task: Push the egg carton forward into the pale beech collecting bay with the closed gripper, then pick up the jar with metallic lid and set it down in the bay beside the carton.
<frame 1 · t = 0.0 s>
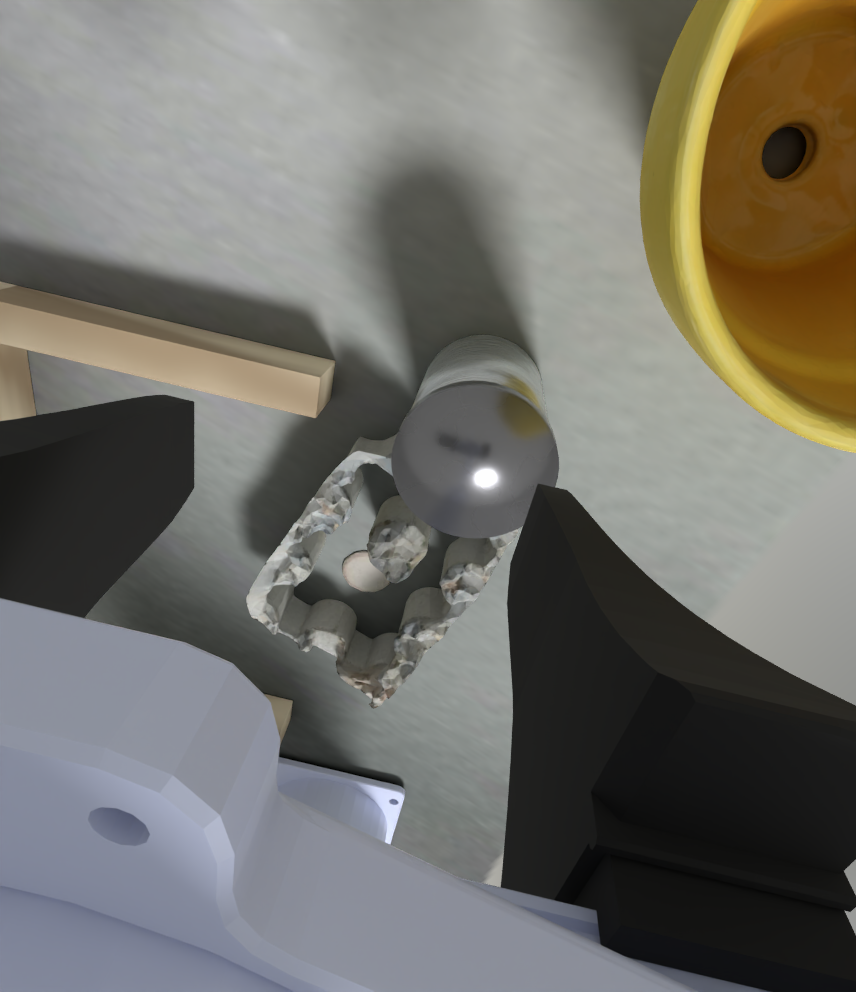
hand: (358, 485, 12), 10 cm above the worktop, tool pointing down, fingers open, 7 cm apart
plant pot: (773, 157, 17), on the worktop
egg carton: (383, 538, 25), on the worktop
jar with metallic lid: (481, 395, 21), on the worktop
beech bay: (179, 543, 26), on the worktop
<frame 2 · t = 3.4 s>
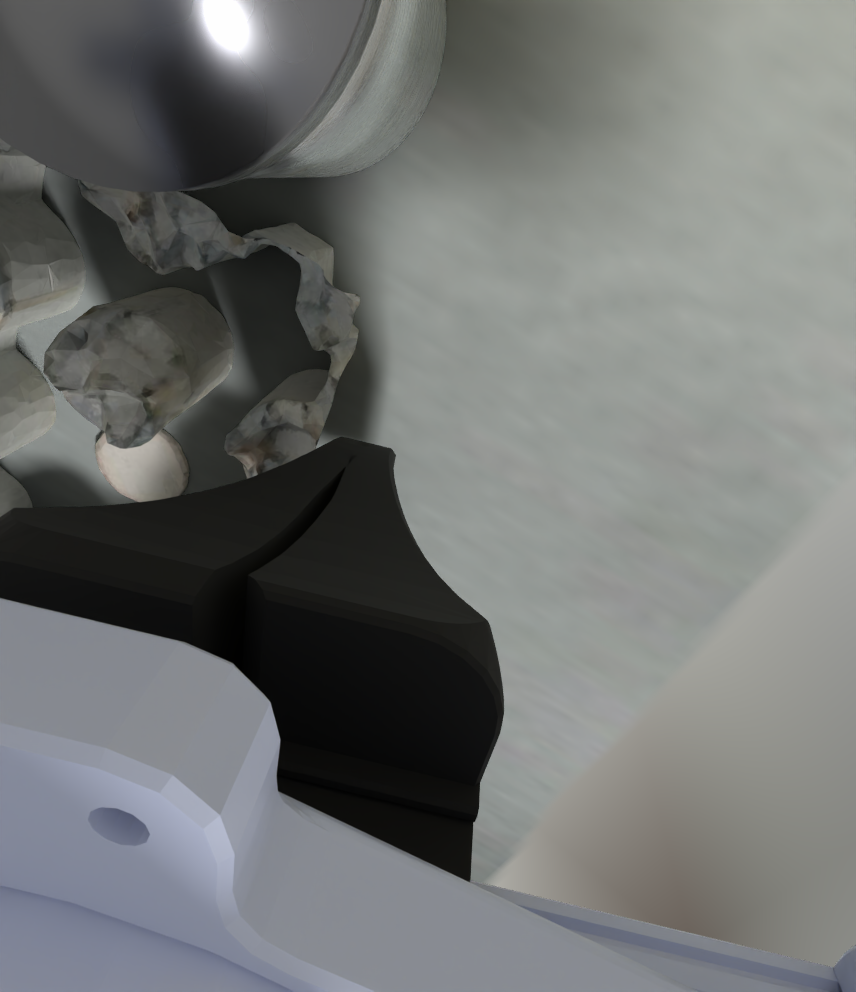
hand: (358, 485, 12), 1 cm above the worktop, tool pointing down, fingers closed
egg carton: (163, 396, 14), on the worktop, touching gripper
jar with metallic lid: (313, 25, 10), on the worktop
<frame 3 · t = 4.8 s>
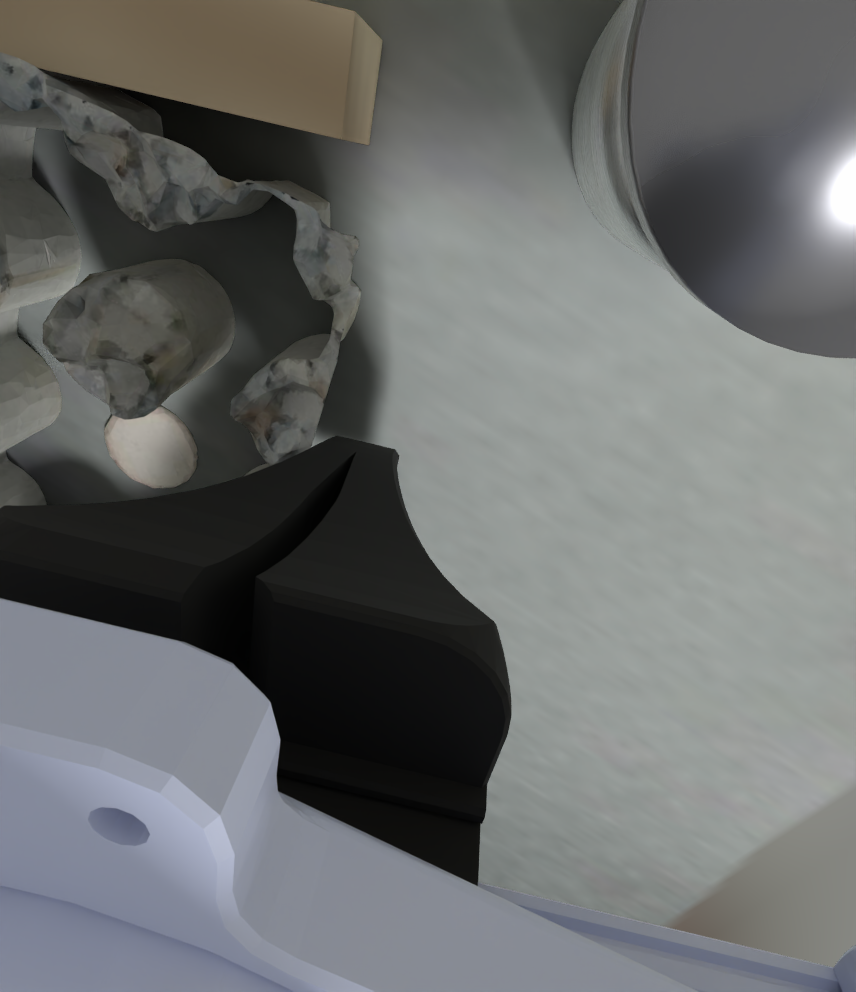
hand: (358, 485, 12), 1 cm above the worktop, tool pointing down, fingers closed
egg carton: (168, 376, 13), on the worktop
jar with metallic lid: (708, 117, 10), on the worktop
beech bay: (84, 480, 15), on the worktop
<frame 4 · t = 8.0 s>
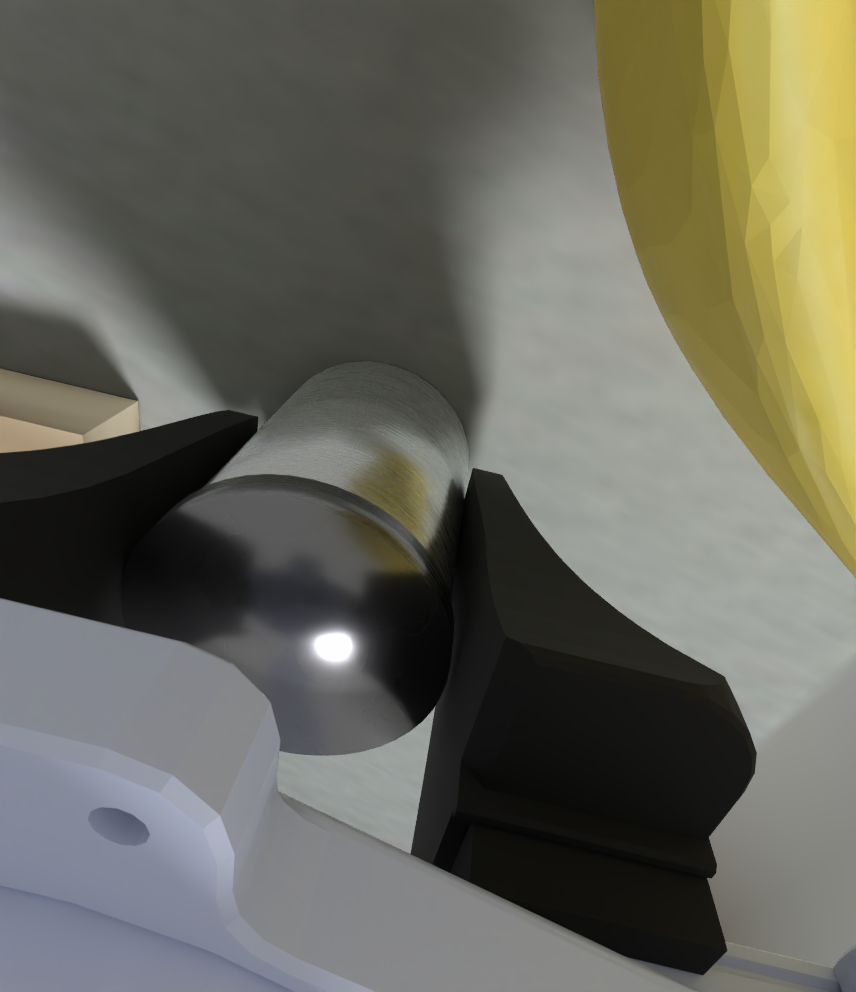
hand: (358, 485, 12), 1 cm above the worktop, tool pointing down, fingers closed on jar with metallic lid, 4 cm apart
jar with metallic lid: (372, 456, 13), on the worktop, touching gripper
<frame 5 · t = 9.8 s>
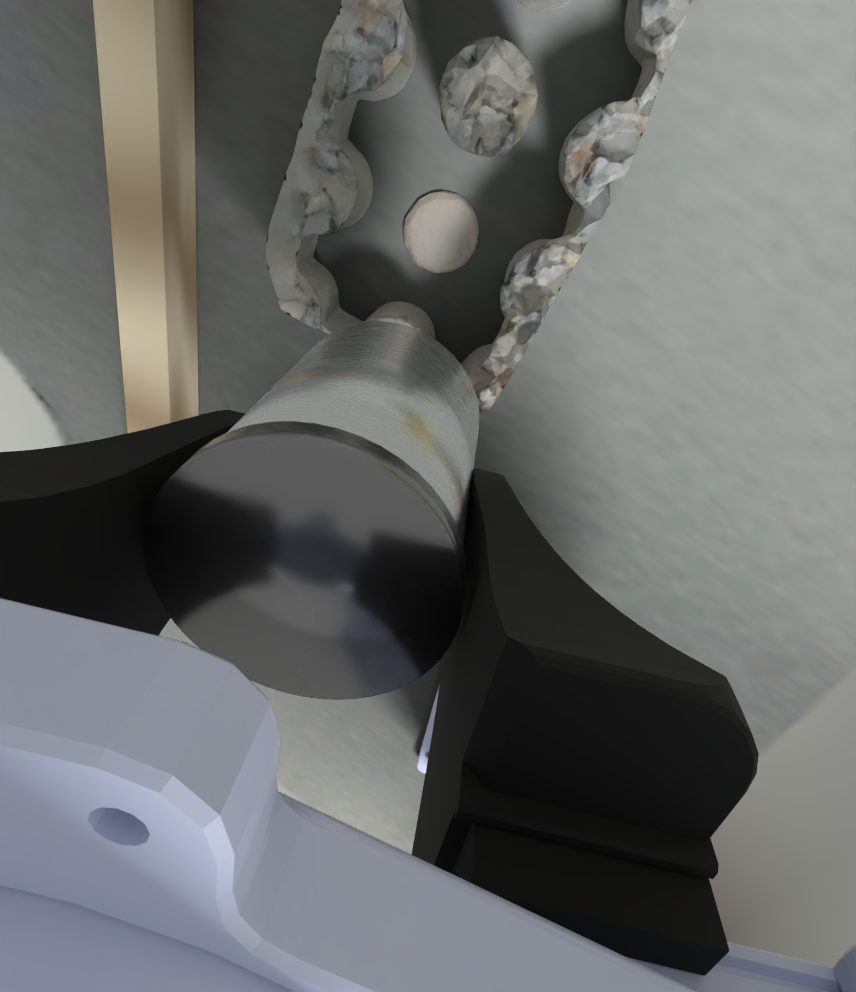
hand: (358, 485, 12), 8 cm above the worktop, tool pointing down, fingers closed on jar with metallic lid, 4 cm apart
egg carton: (459, 170, 17), on the worktop
jar with metallic lid: (383, 417, 13), point 6 cm above the worktop, touching gripper
beech bay: (385, 270, 18), on the worktop
when the fingers open (3 cm above the worktop, at t = 11.5 s): jar with metallic lid stays where it is, on the worktop.
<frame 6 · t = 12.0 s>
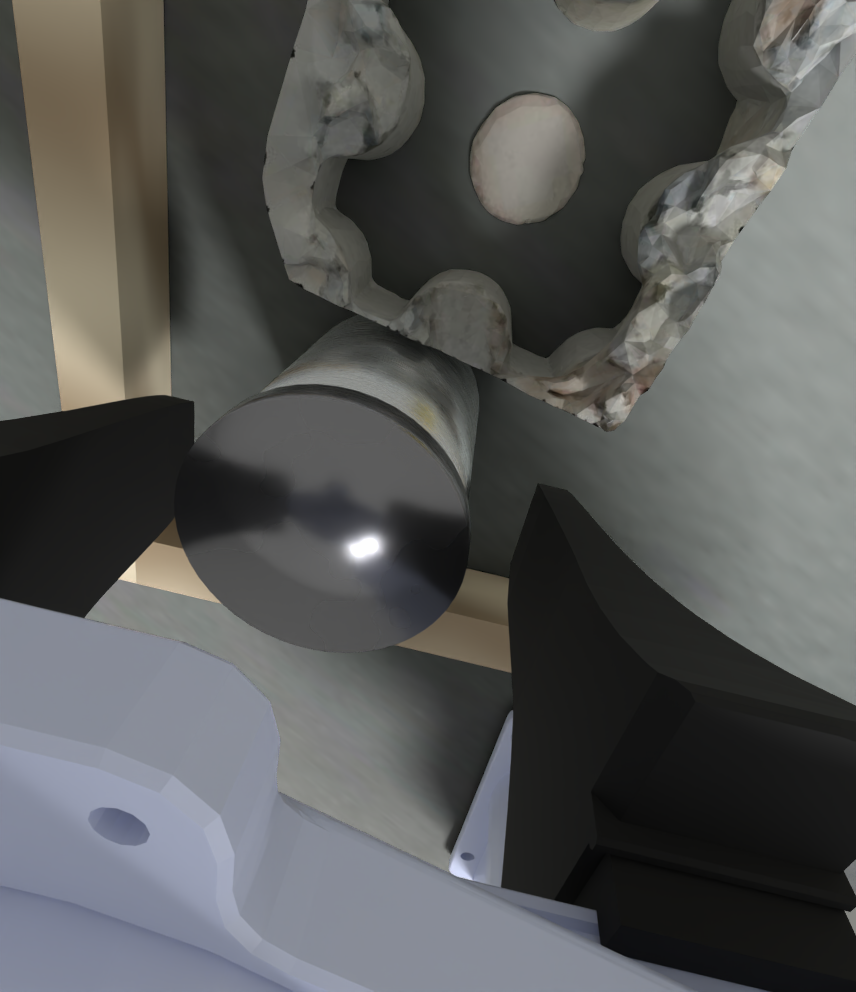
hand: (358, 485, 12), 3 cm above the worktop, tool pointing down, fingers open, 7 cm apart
egg carton: (556, 62, 11), on the worktop
jar with metallic lid: (389, 403, 14), on the worktop
beech bay: (447, 220, 12), on the worktop
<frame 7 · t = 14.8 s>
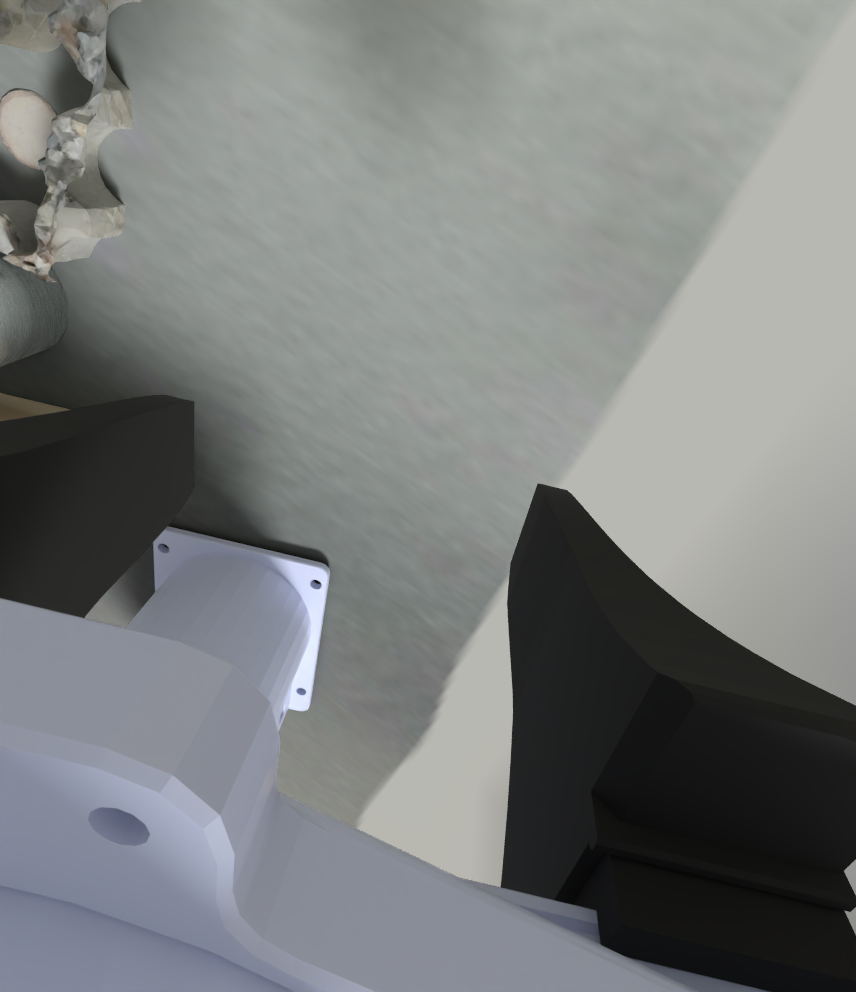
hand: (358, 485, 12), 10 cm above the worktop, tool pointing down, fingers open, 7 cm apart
egg carton: (36, 71, 19), on the worktop
jar with metallic lid: (10, 293, 22), on the worktop
beech bay: (5, 168, 20), on the worktop
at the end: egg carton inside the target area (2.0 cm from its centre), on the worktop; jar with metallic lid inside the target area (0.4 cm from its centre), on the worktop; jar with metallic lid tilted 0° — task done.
